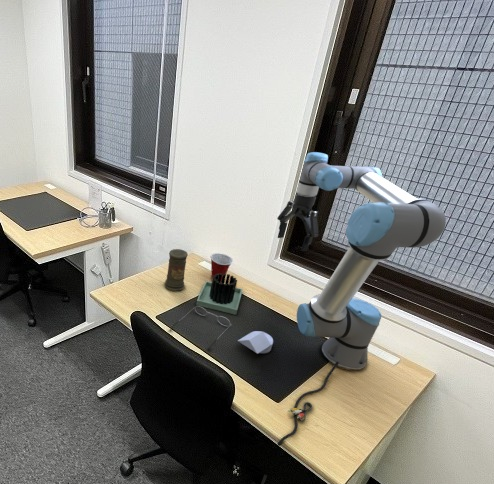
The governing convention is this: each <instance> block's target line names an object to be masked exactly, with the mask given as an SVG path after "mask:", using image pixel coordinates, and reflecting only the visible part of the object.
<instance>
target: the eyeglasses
mask: <svg viewBox="0 0 494 484" xmlns="http://www.w3.org/2000/svg"><path fill="white" fill-rule="evenodd" d="M198 307H199V308H201V309H202V310H204V311H205V312H206V314H201V313H199V312H198V311H197V310H196V309H197V308H198ZM193 309H194V311H195V313H196V314H197V315H199V316H201V317H206V316H207V315H208V314H209V315H212V316H214V317H216V320H217V322H218V323H219V324H220V325H221V326H224V327H227V328H226V329H225V330H223V332H222V333H220V335H219V336H218V338H217V339H215V340H214V341H213V342H212V343H211V344H210V345H209V348H208V351H209V350H210V349H211V347H212V346H213V345H214V344H215V343H216V342H217V340H219V338H220V337H221V336H222V335H223V334H224V333H225V331H226V330H228V329H229V328H230V327H232V326H233V324H232V323H231V321H230V319H229V318H228V317H226V316H222V315H219V316H218V315H217V314H215V313H212V312H209V311H207V308H205V307H202V306H198V305H195V307H193V308H192V309H191V311H192V310H193ZM188 314H189V312H187V314H185V315H184V317H186V316H187V315H188ZM219 317H220V318H223V319H226V320H227V321H228V323H229V324H228V325H226V324H223V323H221V322H220V321H219ZM181 320H182V318H180V319H179V320H178V321H176V322H175V323H174V324H173V325H172V326H171V328H170V329H169V332H171V331H172V329H173V328H174V327H175V325H177V324H178V323H179V322H180V321H181Z"/></svg>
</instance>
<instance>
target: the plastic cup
mask: <svg viewBox="0 0 494 484" xmlns="http://www.w3.org/2000/svg"><path fill="white" fill-rule="evenodd" d="M210 260H211V261H210V263H211V266H210V267H211V268H210V269H211V270H210V271H211V273H210V274H211V279H212V278H213V275H216V274H219V273H222V276H223V273H225V274H226V275H227V274H228V270H229V268H230V266H231V265H232V264H233V262H234V260H233V258H232V256H229V255H227V254H225V253H221V252H215V253H211V255H210ZM221 281H222V277H221Z"/></svg>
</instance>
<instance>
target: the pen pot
mask: <svg viewBox="0 0 494 484" xmlns="http://www.w3.org/2000/svg"><path fill="white" fill-rule="evenodd" d="M221 277H222V281H221ZM211 282H212V284H211V289H210V295H209V297H210V299H212V301H213V302H216V303H220V304H227V303H229V304H230V303H231V302H233V298H234V294H235V289H236V288H237V285H238V284H237V283H238V280H237V278H236V277H234V275H231V274H229V273H226V274H225V273H223V276H222V273H219V274H216V275H213V278H212V277H211Z"/></svg>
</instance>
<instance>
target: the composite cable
mask: <svg viewBox="0 0 494 484" xmlns="http://www.w3.org/2000/svg"><path fill="white" fill-rule="evenodd" d="M307 406H308V408H307ZM312 408H313V405H312V403H311V402H309V401H306V402H305V403H303V409H302V408H298V407H297V408H294V407H293V408H290V409H289V410H288V412H290V413H291V414H292V417H293V418H294V415H293V414H295V415H296V417H297V421H299V422H300V423H304V422H305V421H306V416H307V415H306V414H307V413H308V412H309V411H311V410H312ZM303 417H304V418H303Z"/></svg>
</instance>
